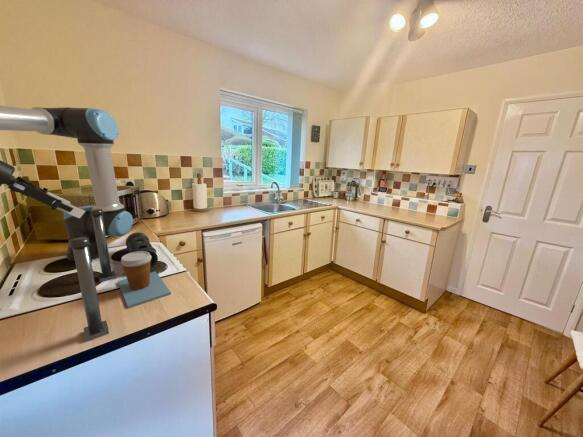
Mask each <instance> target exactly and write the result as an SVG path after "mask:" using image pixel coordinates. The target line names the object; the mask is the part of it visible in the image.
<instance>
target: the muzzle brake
mask: <svg viewBox="0 0 583 437" xmlns="http://www.w3.org/2000/svg"><path fill="white" fill-rule="evenodd" d="M125 245H126V246H125V247H126V248H127V250H128V253H132V252H138V251H146V252H149V253H150V255H151V256H152V258H151V260H150V270H151V269H152V268H154V267H156V265H157V263H158V260H159V257H158V254H157V252H156V251H155V249H154V248H153V246H152V243H151V242H150V239H149V237H148V236H147V235H146V234H145V233H142V232H138V231H137V232H133V233H131V234H129V235H128V236H126V240H125Z"/></svg>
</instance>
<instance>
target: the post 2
mask: <svg viewBox="0 0 583 437" xmlns="http://www.w3.org/2000/svg"><path fill="white" fill-rule="evenodd" d="M90 213H91V215H92V219H93V225H94V230H95V236H96V242H97V248H98V254H99V257H98V259H99V263H100V266H99V267H100V271H101V273H98V275H97V276H98V280H99V282H100V283H102V282H107V281H111V280H115V279H117V276H116V273H115V270H112V267H111V262H110V260H111V259H110V254H109V247H108V242H107V236H106V234H105V228H104V222H103V215H102V214H103V210H102V209H94V210H90Z"/></svg>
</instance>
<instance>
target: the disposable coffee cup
mask: <svg viewBox="0 0 583 437" xmlns="http://www.w3.org/2000/svg"><path fill="white" fill-rule="evenodd" d="M151 258H152V256H151V255H150V253H149V252H146V251H138V252H132V253H129V252H128V253H126V254H124V255H122V256H121V260H120V264H121V266H122V267H123V271H124V274H125V277H126V279H127V280H128V283H129V286H130V289H132V290H140V289H143V288H146V287H147V286H149V284H150V273H151V269H150V260H151Z"/></svg>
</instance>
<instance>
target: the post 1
mask: <svg viewBox="0 0 583 437" xmlns="http://www.w3.org/2000/svg"><path fill="white" fill-rule="evenodd" d="M69 242H70V247H71V248H73V253H74V259H75V261H74V262H75V263H74V264H75V268H76V273H77V278H78V283H79V288H80V293H81V297H82V299H81V300H82V303H83V308H84V314H85V318H86V323H87V326H85V327H83V334H84V342H85V343H86V342H90V341H92V340H95V339H98V338H100V337H103V336H105V335H108V334H110V331H109V330H110V329H109V326H108V323H107V320H106V319H105V320H103V319H102V315H101V309H100V304H99V297H98V292H97V286H96V281H95V280H96V279H95V276H94V270H93V264H92V259H91V258H90V252H89V247H88V245H89V238H88V237H79V238H74V239H71V240H69V239H68V243H69Z"/></svg>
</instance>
